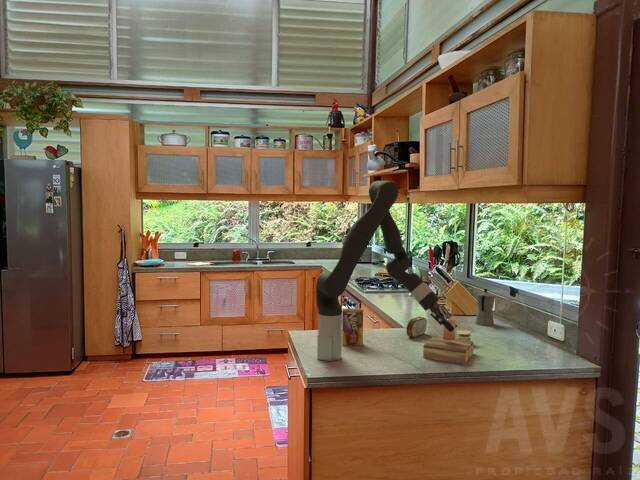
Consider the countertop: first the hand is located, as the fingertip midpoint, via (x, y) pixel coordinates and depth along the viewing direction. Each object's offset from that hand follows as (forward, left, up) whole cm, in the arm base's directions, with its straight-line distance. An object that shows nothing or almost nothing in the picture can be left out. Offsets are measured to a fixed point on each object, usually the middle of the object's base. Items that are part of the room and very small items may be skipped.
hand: (454, 329), depth 203 cm
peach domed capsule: (0, +2, -4) cm, 5 cm away
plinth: (0, +2, -11) cm, 11 cm away
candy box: (-4, +42, -11) cm, 43 cm away
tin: (+24, +22, -11) cm, 34 cm away
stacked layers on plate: (+20, 0, -11) cm, 23 cm away
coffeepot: (+64, -1, -11) cm, 65 cm away
